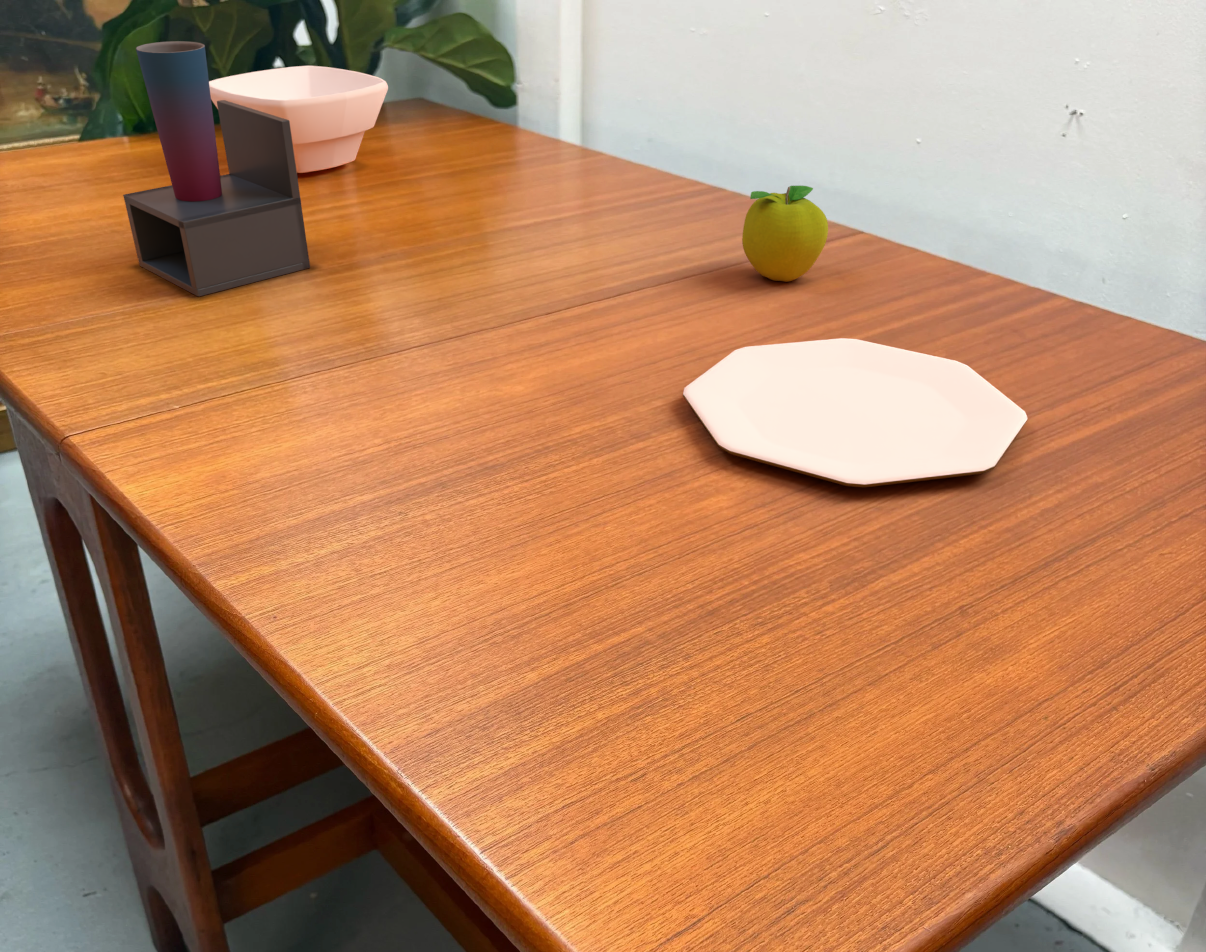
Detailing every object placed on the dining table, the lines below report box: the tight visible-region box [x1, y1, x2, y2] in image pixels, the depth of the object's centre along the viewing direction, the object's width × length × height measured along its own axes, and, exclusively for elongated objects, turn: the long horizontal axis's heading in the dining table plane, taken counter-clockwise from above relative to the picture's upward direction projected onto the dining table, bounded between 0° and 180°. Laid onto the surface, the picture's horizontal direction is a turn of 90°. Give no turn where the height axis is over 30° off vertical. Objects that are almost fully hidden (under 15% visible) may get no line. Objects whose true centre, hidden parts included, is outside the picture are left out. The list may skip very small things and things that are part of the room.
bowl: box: [209, 65, 389, 174], centre depth 164 cm, size 22×22×12 cm
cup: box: [135, 40, 222, 202], centre depth 122 cm, size 7×7×15 cm
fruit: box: [741, 185, 829, 283], centre depth 126 cm, size 9×9×10 cm
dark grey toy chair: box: [122, 100, 311, 297], centre depth 126 cm, size 14×14×16 cm
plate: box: [682, 337, 1028, 488], centre depth 99 cm, size 28×28×2 cm
